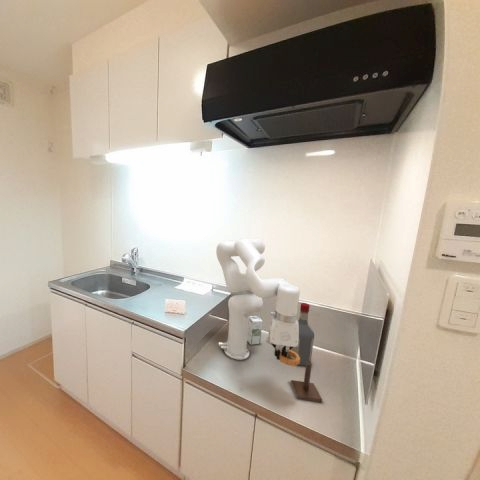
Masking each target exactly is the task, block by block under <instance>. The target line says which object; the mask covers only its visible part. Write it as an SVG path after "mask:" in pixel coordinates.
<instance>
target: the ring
mask: <svg viewBox="0 0 480 480" xmlns="http://www.w3.org/2000/svg"><path fill="white" fill-rule="evenodd" d="M279 350H280V357H279V360H278V361H279V362H281V363H283V364H284V365H287V366H291V367H296V366H297V365H298V364H299V363H300V357H299V355H298V354H297V353H296V352H294V351H292V350H289V352H287V355H289V356H291V357H293V358H295V359H289V358H288V357H287V358H286V357H284V356H282V348H281V349H279Z"/></svg>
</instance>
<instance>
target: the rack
mask: <svg viewBox="0 0 480 480" xmlns="http://www.w3.org/2000/svg"><path fill="white" fill-rule="evenodd" d="M312 367H313V364H312V363H309V362H307V363H306V366H305V371H304V378H303V381H301V380H293V379H291V380H290V385H291V387H292V389H293V392H294V394H295V397H296V399H297V400H303V401H310V402H317V403H322V401H323V398H322V396H321V395H320V393H319V391H318V388H317V387H316V385H315V383H313V382H311V374H312Z"/></svg>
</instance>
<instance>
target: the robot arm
mask: <svg viewBox="0 0 480 480" xmlns="http://www.w3.org/2000/svg"><path fill="white" fill-rule="evenodd" d="M265 248H266V247H265V243H264V241H263V240H262V239H260V238H257V237H249V238H247V237H246V238H240V239H238V240H237V239H236V240H235V239H234V240H224V241H221V242H219V243H218V244H217V246H216V249H215V251H216V252H215V253H216V258H217V261H218V263H219V265H220V267H221V270H222V274H223V278H224V281H225V286H226V288H227V291H228V292H229V293H232V294H235V295H233V296H231V297H229V299H228V301H227V305H228V333H227V340H226V341H225V342H221V341H218V347H220V349H223V351H224V354H225V355H226V356H227V357H229V358H231V359H233V360H238V361H242V360H246V359H248V358H249V357H250V351H249V349H248V348H247V346H248V341H247V336H248V317H246V315H249V314H256V313H259V312H261V311H262V310H263V308H264V301H263V299H268V298H276V300H275V309H274V311H271V312H270V316H272V318H271V320H270V324H269V329H268V335H267V337H266V339H265V342H266V344H269V345H271V346H272V347H273V348H274V353H273V354H274V355H273V356H274V357H276V360H278V361H280V360H279V357H280V350H281V349H282V356H284V357H286V358H287V359H288V356H287V352H289V350H290V349H292V348H293V347H298V346H299V345H298V340H299V324H298V319H297V318H298V317H297V315H298V310H299V309H298V308H299V300H300V294H301V293H300V288H299V287H297V286H296V285H294V284H291V283H290V282H289V281H287V280H286V279H284V278H283V277H270V278H260V276H259V275H258V273H257V271H259V270H260V269H261V268H262V267H263V266H264V265H265V257H264V256H263V255H262V254H263V253H264V252H265V250H266V249H265ZM232 257H239V259H240V261H242V263H243V264H244V265H245V267H246V270H245V273H242V272H241V271H240V266H239V264H238V263H237V262H236V261H235V260H234V259H233V258H232ZM237 293H238V294H237ZM239 293H244V294H239ZM280 346H283V347H282V348H281V349H280Z"/></svg>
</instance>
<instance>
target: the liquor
mask: <svg viewBox="0 0 480 480" xmlns="http://www.w3.org/2000/svg"><path fill="white" fill-rule="evenodd" d="M310 307H311V306H310V304H309V303H306V302H302V303H300V308H299V309H300V312H299V318H298V319H297V321H298V324H299V340H298V345H299V346H298V347H293V348H292V349H290V350H292V351H294V352H296V353H297V354H298V355H299V357H300V363H299V364H298V365H296V366H300V367H306V363H307V362H309V363H311V362H312V357H313V356H312V355H313V349H314V341H315V333H314V330H313V329H312V327H311V326H310V325H309V321H308V320H309V312H310ZM287 359H295V358H293V357H291V356H289V355H287ZM311 364H312V363H311Z"/></svg>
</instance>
